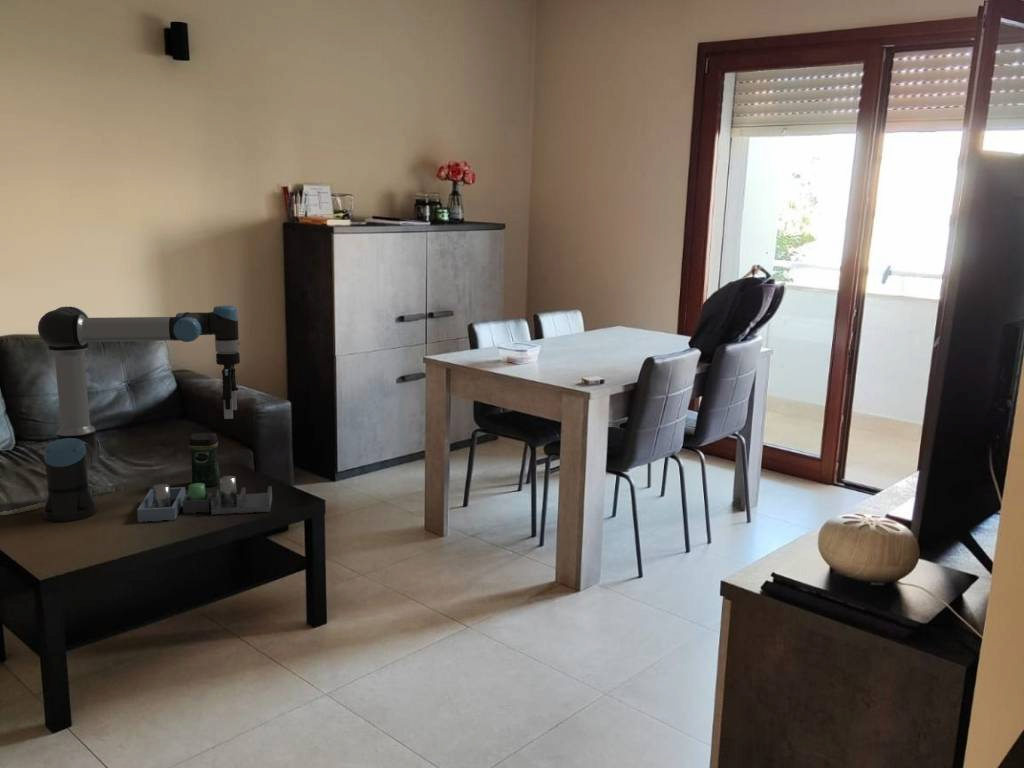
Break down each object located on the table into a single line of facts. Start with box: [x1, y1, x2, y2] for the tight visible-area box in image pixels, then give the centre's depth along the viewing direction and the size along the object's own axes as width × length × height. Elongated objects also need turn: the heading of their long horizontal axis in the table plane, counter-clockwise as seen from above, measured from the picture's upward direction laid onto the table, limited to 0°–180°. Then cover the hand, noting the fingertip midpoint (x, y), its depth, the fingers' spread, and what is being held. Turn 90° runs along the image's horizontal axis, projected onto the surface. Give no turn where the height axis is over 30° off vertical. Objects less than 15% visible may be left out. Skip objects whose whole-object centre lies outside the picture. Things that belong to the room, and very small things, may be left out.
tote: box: [136, 486, 187, 523], centre depth 286 cm, size 11×22×4 cm, turn 12°
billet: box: [152, 483, 172, 508], centre depth 285 cm, size 5×5×8 cm
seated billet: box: [219, 475, 238, 504], centre depth 288 cm, size 5×5×8 cm
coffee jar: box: [188, 432, 221, 487], centre depth 312 cm, size 10×8×19 cm
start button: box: [188, 483, 206, 500], centre depth 286 cm, size 5×5×6 cm
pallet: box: [210, 485, 273, 516], centre depth 290 cm, size 18×14×4 cm
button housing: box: [182, 492, 213, 514], centre depth 287 cm, size 8×8×4 cm
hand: (230, 414), depth 299 cm, fingers open, 13 cm apart
